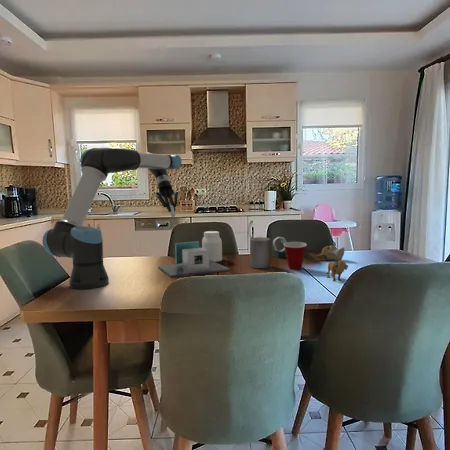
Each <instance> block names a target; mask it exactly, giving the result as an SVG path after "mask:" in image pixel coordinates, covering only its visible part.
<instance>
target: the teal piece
mask: <svg viewBox="0 0 450 450" xmlns="http://www.w3.org/2000/svg"><path fill="white" fill-rule="evenodd" d="M174 246H175V247H174V248H175V249H174V253H175V264H182V263H183V254H182V249H193V248H201V246H200V241H199V240H196V241H186V242H185V241H184V242H175V243H174ZM198 259H199V257H198V256H194V261H198Z"/></svg>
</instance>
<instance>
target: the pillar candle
mask: <svg viewBox="0 0 450 450" xmlns="http://www.w3.org/2000/svg"><path fill="white" fill-rule="evenodd" d="M249 267H250V268H253V269H268V268H270V267H271V239H270V238H269V237H261V236H259V237H252V238H250V239H249Z"/></svg>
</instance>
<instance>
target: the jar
mask: <svg viewBox="0 0 450 450" xmlns="http://www.w3.org/2000/svg"><path fill="white" fill-rule="evenodd" d="M222 245H223V241H222V238H221V237H220V231H215V230H209V231H204V232H203V237H202V239H201V248H204V249H207V250H209V261H210V260H211V261H214V262H216V263H218V262H221V261H223V246H222Z"/></svg>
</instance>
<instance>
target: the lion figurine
mask: <svg viewBox="0 0 450 450" xmlns="http://www.w3.org/2000/svg"><path fill="white" fill-rule="evenodd" d="M348 268H349V265H348V264H346V262H345V260H343V259H342V260H339V261H337V260H336V261H329V262H328V265H327V272H326V273H325V274H326V275H327V276H326V278H329V279H330V274H331V276H332V282H335V283H336V281H339V282H341V281H342V279H341V276H342V274H343V273H344V272H345V271H347V270H348ZM330 272H331V273H330ZM336 275H337V279H336Z"/></svg>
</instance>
